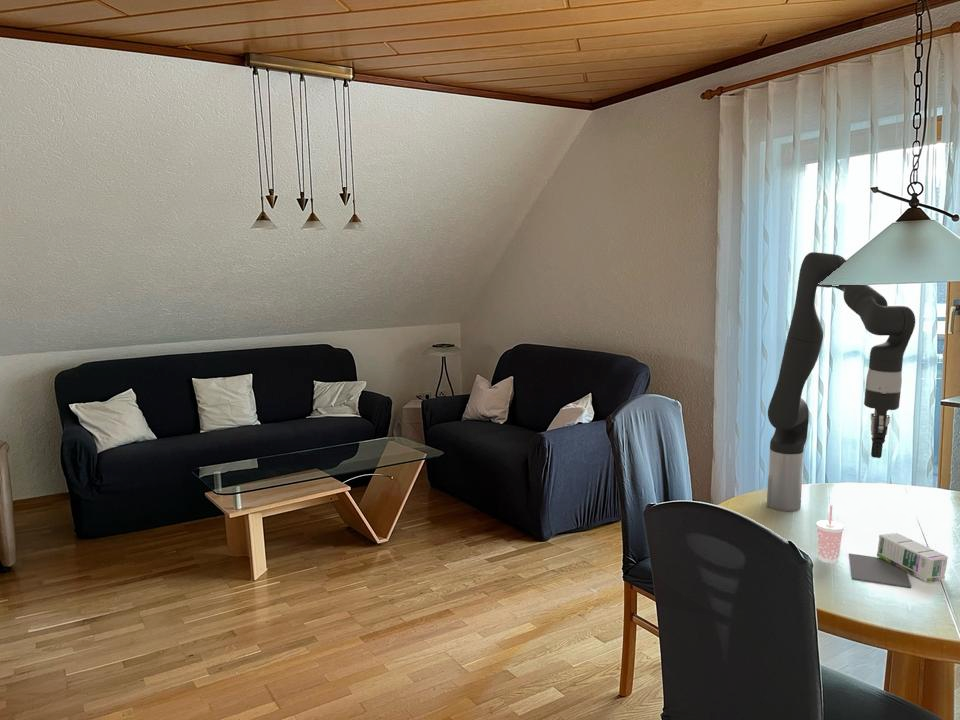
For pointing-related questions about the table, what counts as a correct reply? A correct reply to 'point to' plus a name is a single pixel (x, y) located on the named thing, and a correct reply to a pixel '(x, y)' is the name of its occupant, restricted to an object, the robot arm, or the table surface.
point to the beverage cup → (829, 539)
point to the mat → (877, 571)
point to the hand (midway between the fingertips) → (876, 456)
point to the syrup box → (912, 557)
